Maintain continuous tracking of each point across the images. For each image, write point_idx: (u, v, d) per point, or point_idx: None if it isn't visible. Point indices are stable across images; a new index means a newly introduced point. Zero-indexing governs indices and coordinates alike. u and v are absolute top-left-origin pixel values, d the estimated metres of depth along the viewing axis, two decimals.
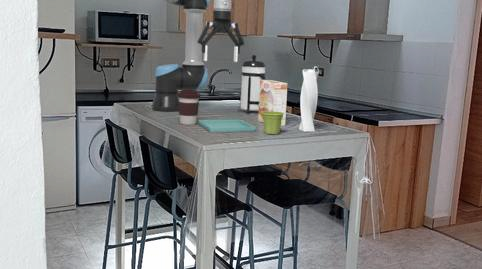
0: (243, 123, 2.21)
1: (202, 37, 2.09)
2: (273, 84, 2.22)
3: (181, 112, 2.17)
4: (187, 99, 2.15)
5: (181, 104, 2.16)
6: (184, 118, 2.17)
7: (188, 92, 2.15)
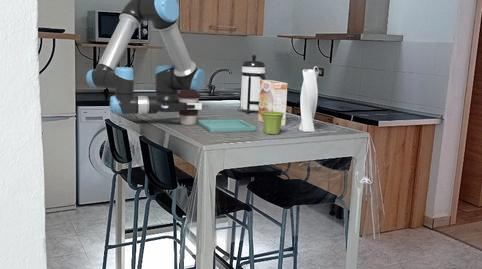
0: (243, 123, 2.21)
1: None
2: (273, 84, 2.22)
3: (181, 112, 2.17)
4: (187, 99, 2.15)
5: None
6: (184, 118, 2.17)
7: (188, 92, 2.15)
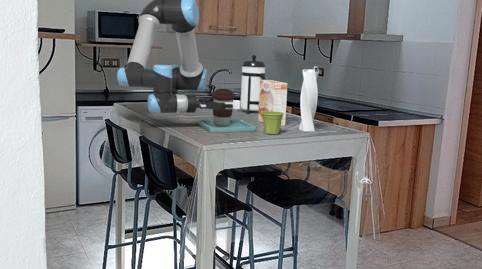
0: (243, 123, 2.21)
1: None
2: (273, 84, 2.22)
3: (215, 113, 2.13)
4: (222, 101, 2.10)
5: None
6: (218, 119, 2.14)
7: (223, 94, 2.10)
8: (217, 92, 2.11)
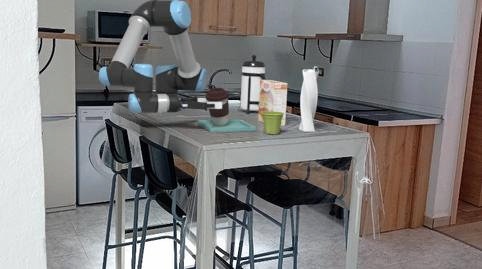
0: (243, 123, 2.21)
1: None
2: (273, 84, 2.22)
3: (212, 114, 2.13)
4: None
5: None
6: (216, 120, 2.14)
7: (217, 94, 2.09)
8: (210, 94, 2.10)
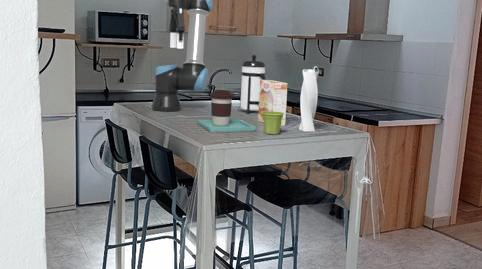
0: (243, 123, 2.21)
1: (170, 25, 2.23)
2: (273, 84, 2.22)
3: (214, 113, 2.14)
4: (221, 100, 2.12)
5: (214, 105, 2.13)
6: (217, 119, 2.14)
7: (222, 93, 2.12)
8: (215, 92, 2.13)
